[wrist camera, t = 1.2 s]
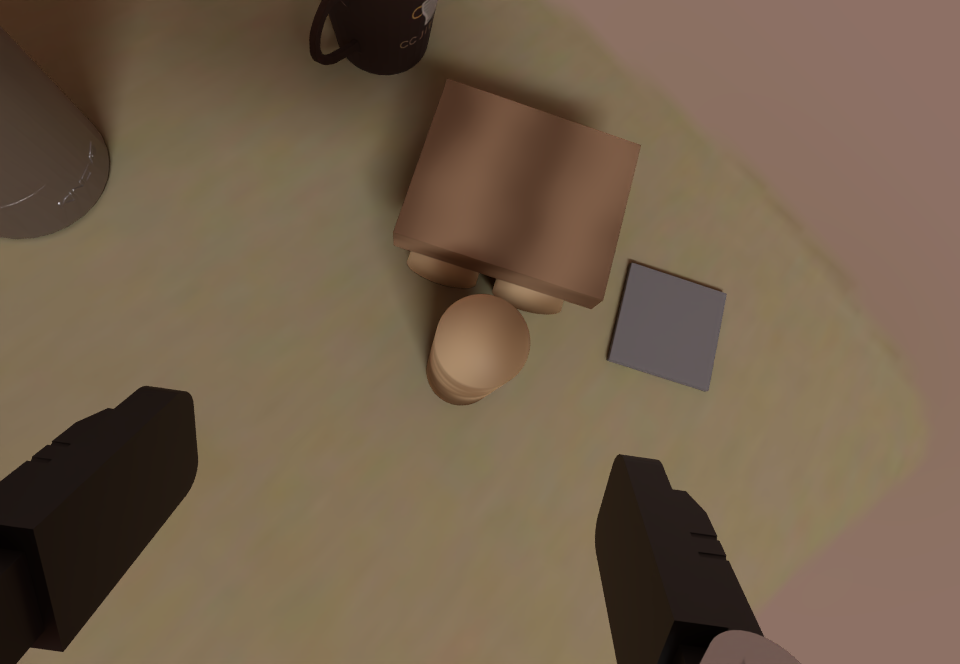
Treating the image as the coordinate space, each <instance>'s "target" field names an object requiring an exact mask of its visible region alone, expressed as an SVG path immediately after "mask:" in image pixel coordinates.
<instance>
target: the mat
mask: <svg viewBox="0 0 960 664" xmlns="http://www.w3.org/2000/svg"><path fill="white" fill-rule="evenodd" d="M726 295H727V294H726V293H723V292H720V291H717V290H714V289H711V288H708V287H705V286H702V285H699V284H696V283H693V282H690V281H687V280H684V279H681V278H678V277H675V276H672V275H669V274H665V273H662V272H659V271H656V270H653V269H650V268H647V267H644V266H641V265H638V264H635V263H631V264H630V265H629V269H628V273H627V278H626V282H625V286H624V290H623V294H622V299H621V303H620V307H619V311H618V316H617V320H616V324H615V328H614V333H613V337H612V341H611V345H610V350H609V354H608V358H607V361H611V362H614V363H617V364H620V365H623V366H626V367H630V368H633V369H636V370H639V371H642V372H645V373H649V374H652V375H655V376H658V377H661V378H664V379H668V380H671V381H674V382H677V383H680V384H683V385H686V386H690V387H693V388H696V389H699V390H702V391H708V390H709V385H710V380H711V375H712V369H713V364H714V359H715V353H716V348H717V343H718V337H719V332H720V327H721V321H722V316H723V311H724V305H725V300H726Z"/></svg>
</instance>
